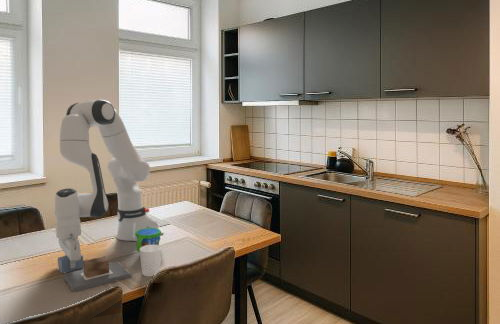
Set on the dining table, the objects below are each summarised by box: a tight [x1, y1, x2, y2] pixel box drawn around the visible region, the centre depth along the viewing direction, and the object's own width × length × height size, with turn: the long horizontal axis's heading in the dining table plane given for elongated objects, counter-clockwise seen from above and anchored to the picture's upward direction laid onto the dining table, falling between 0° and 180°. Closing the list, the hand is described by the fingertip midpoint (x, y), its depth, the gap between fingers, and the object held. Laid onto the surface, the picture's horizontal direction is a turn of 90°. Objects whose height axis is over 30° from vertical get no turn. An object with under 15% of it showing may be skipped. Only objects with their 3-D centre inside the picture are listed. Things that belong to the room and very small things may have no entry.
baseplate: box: [63, 261, 131, 293], centre depth 148 cm, size 20×14×2 cm
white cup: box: [139, 244, 162, 277], centre depth 152 cm, size 8×8×10 cm
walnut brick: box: [82, 256, 110, 278], centre depth 148 cm, size 8×4×5 cm, turn 127°
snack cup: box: [135, 228, 161, 253], centre depth 171 cm, size 16×10×10 cm
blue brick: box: [57, 254, 84, 274], centre depth 156 cm, size 8×4×5 cm, turn 133°
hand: (70, 264), depth 156 cm, fingers closed on blue brick, 5 cm apart
